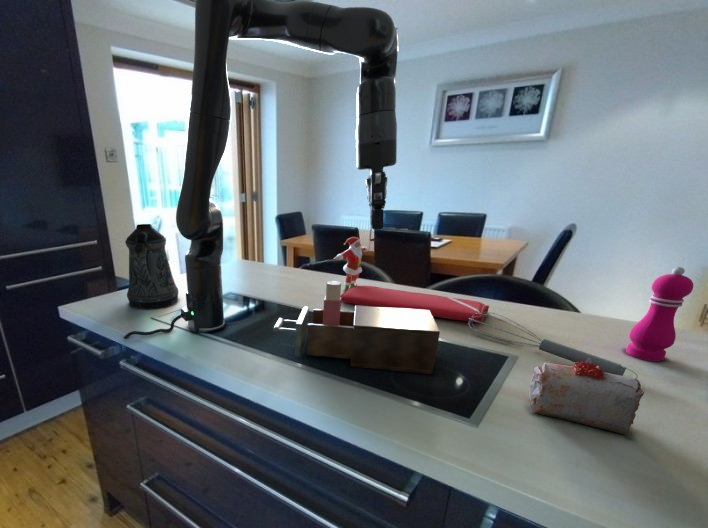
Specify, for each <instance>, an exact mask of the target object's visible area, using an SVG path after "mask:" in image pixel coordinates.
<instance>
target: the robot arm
mask: <svg viewBox="0 0 708 528" xmlns="http://www.w3.org/2000/svg"><path fill="white" fill-rule="evenodd" d="M194 7H195V8H194V54H193V55H194V56H193V68H192V69H193V70H192V80H191V81H192V83H191V93H190V96H191V97H190V103H189V108H188V109H189V110H188V122H187V134H186V146H185V154H184V162H183V163H184V165H183V174H182V181H181V185H180V191H179V197H178V201H177V206H176V213H175V223H176V228H177V230H178V232H179V234H180V235H181V236H182V237H183V238H184V239H186V240H188V241H190V246H189V248H188V250H187V252H186V253H185V256H184V263H185V277H186V287H187V291H186V292H185V300H186V302H185V303H186V306H184V307H180V314H178V315H177V316H175V317H174V318H173V319H172V320H171V323H170V327H169V328H158V329H157V328H156V329H154V330H150V331H139V330H133V331H129V332H128V333H126V334H125V335H124V336H123V339H129V338H130V337H131V336H135V335H138V336H153V335H156V334H159V333H170V332H172V331H173V330H174V328H175V324H176V322H177V321H179V320H180V319H182V320H184V321H185V322H187V323H188V325H187V326H188V327H189V328H190V330H192V331H193V332H194V333H211V332H212V333H213V332H216V331H220V330H222V329H224V328H225V314H224V313H225V311H224V293H223V275H222V273H223V272H222V256H223V252H224V219H223V214H222V211H221V209H220V207H219V205H218V204H217V203H216V202H215V201H213V200H211V192H212V186H213V182H214V178H215V176H216V173H217V170H218V168H219V166H220V165H221V162H222V160H223V157H224V155H225V152H226V150H227V147H228V142H229V137H230V131H231V123H232V122H231V121H232V113H233V111H232V106H233V105H232V97H231V91H230V84H229V78H228V67H227V63H228V62H227V61H228V51H229V50H228V49H229V42H230V40H264V41H273V42H278V43H281V44H287V45H290V46H294V47H298V48H302V49H305V50H310V51H313V52H318V53H323V54H327V55H335V54H338V53H343V54H346V55H350V56H355V57H357V58H359V66H360V67H359V76H360V77H359V84H358V86H357V91H356V127H355V128H356V129H355V141H356V142H355V144H356V145H355V148H356V152H355V153H356V154H355V155H356V168H357V170H358V171H361V170H363V171H364V170H368V171H369V175H368V177H367V178H366V179H365V189H366V190H367V191H366V195H367V196H366V199H367V201H368V206H369V219H370V220H369V221H370V222H369V223H370V224H369V225H371V229H372V230H374V231H376V230H383V229H384V227H385V226H384V225H385V223H384V222H385V221H384V219H385V218H384V213H385V212H384V210H385V207H386V204H387V201H386V199H387V195H388V193H387V192H388V191H387V186H388V176H387V173H386V171H384V168H387V167H393V166H395V165H396V164H397V149H398V148H397V147H398V145H397V144H398V143H397V141H398V137H397V135H398V131H397V130H398V123H397V116H396V115H397V112H396V106H397V105H396V103H397V102H396V101H397V100H396V99H397V93H396V92H397V90H396V75H397V67H398V66H397V65H398V53H399V35H398V31H397V29H396V26H395V23H394V20H393V18H392V17H391V15H390V14H388V13H387V12H386V11H384V10H382V9H378V8H375V7H370V6H369V7H367V6H359V7H358V6H351V7H350V6H349V7H341V6H337V5H334V4H329V3H324V2H319V1H312V0H293V1H281V2H280V1H273V0H195V6H194Z"/></svg>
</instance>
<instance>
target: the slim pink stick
mask: <svg viewBox="0 0 708 528" xmlns="http://www.w3.org/2000/svg"><path fill="white" fill-rule="evenodd" d="M341 291H342V282H340V281H337V280H329V281H326V285H325V296H324V299H323V310H324V311H323V324H324V325H338V326H339V324H340V311H342V310H341V307H342V301H341V297H340V296H341V295H342V292H341Z"/></svg>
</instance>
